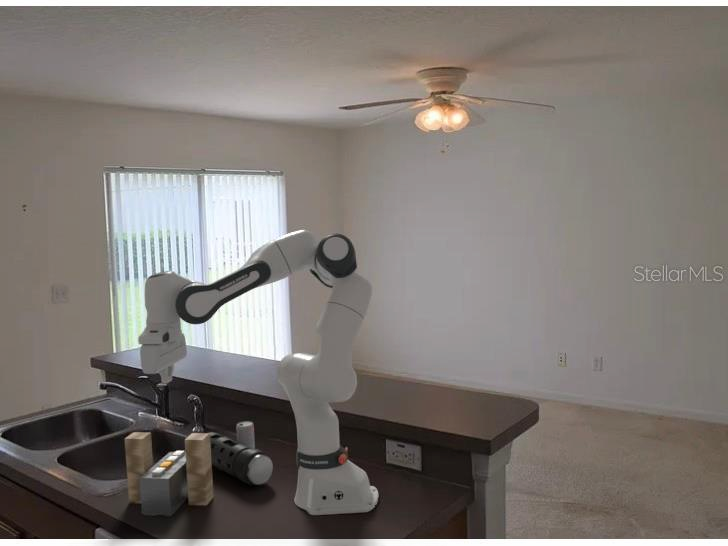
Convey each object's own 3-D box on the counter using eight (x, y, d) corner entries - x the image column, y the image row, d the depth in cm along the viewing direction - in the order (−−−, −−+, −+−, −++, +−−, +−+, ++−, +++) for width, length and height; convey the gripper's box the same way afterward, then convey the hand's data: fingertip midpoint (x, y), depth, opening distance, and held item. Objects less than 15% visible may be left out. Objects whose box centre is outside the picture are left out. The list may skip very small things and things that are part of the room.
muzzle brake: (223, 459, 204) (222, 427, 203) (276, 484, 183) (274, 449, 182) (196, 468, 197) (194, 435, 196) (247, 495, 177) (246, 458, 176)
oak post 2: (213, 497, 176) (209, 433, 174) (206, 505, 171) (202, 439, 169) (196, 496, 177) (192, 433, 175) (188, 504, 172) (184, 439, 170)
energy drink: (241, 457, 204) (239, 420, 203) (257, 458, 203) (255, 421, 202) (235, 464, 199) (233, 426, 198) (252, 464, 198) (250, 426, 197)
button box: (198, 486, 183) (196, 449, 182) (171, 516, 166) (168, 474, 165) (172, 485, 185) (169, 448, 184) (142, 515, 167) (139, 474, 166)
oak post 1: (155, 495, 178) (150, 432, 177) (146, 503, 174) (142, 438, 172) (138, 494, 179) (133, 432, 177) (129, 503, 174) (124, 438, 173)
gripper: (169, 325, 183) (172, 372, 185) (134, 339, 163) (138, 392, 165) (190, 325, 183) (193, 372, 184) (158, 339, 162) (161, 392, 164)
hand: (167, 382), depth 174 cm, fingers closed
